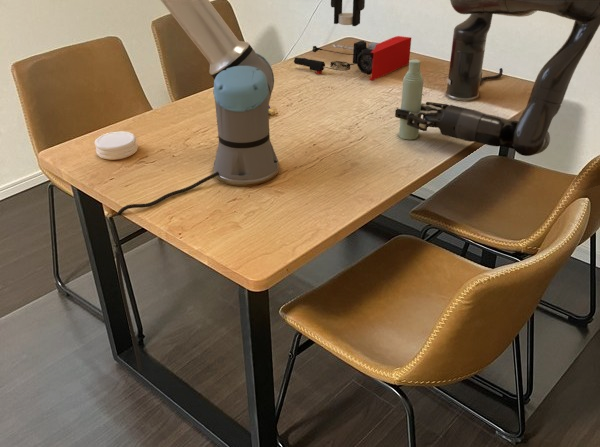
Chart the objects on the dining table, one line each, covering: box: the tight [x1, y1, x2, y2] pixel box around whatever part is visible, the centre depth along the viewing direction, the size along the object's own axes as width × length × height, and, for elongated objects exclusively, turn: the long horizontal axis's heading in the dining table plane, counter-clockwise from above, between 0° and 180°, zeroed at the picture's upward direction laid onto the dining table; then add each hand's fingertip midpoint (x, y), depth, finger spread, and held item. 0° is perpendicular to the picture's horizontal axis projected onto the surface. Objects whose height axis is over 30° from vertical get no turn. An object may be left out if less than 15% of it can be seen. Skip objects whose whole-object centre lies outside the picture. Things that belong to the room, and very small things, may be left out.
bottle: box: [398, 58, 424, 140], centre depth 156 cm, size 5×5×20 cm
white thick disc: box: [94, 130, 139, 161], centre depth 154 cm, size 10×10×4 cm
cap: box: [338, 12, 353, 26], centre depth 139 cm, size 4×4×2 cm
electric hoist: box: [293, 35, 412, 82], centre depth 207 cm, size 10×27×30 cm
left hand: (346, 23), depth 140 cm, fingers closed on cap, 4 cm apart
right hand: (401, 109), depth 159 cm, fingers closed on bottle, 5 cm apart
